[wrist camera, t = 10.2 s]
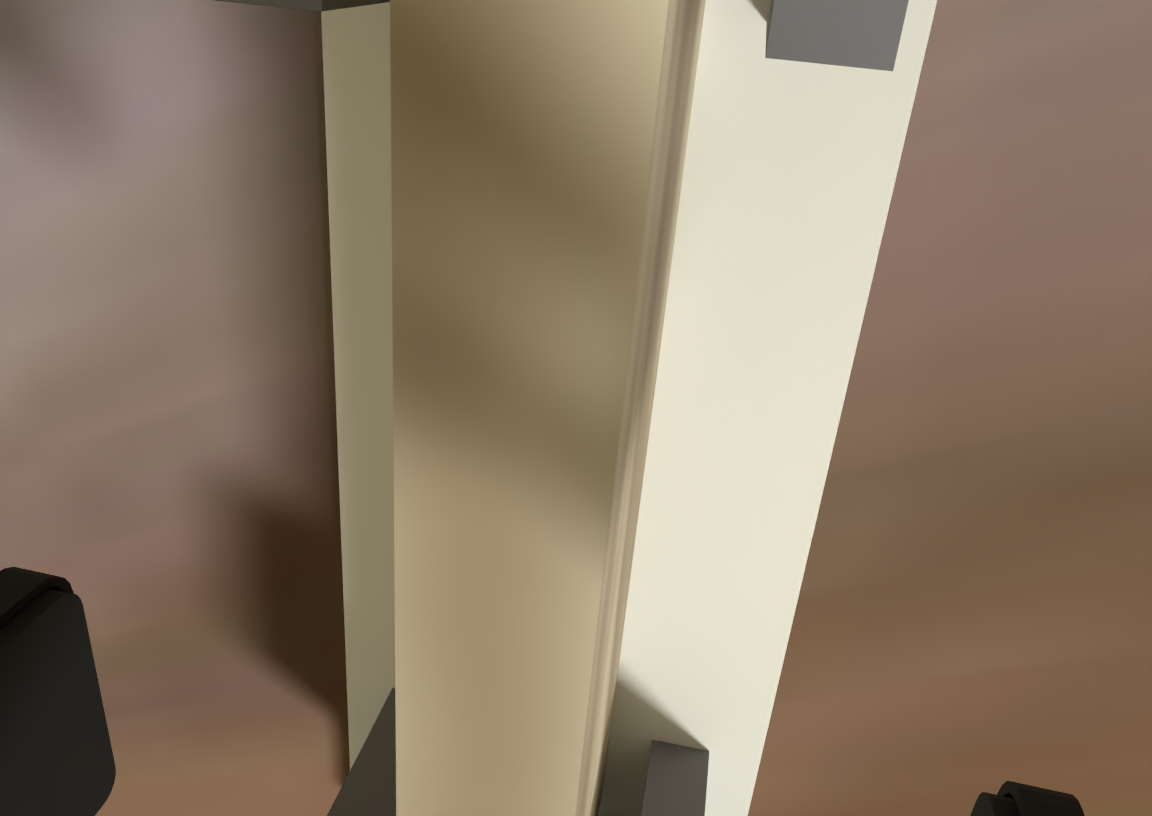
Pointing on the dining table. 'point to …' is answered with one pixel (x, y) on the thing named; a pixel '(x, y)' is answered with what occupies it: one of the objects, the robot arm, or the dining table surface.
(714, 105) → the end cap board
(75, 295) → the dining table surface
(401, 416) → the slat
